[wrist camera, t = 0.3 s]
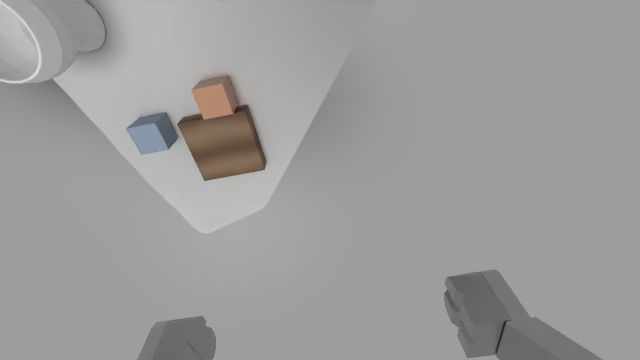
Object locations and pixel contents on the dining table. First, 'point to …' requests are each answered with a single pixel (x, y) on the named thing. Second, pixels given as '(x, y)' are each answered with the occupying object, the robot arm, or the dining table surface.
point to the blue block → (153, 133)
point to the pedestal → (223, 144)
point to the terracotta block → (215, 97)
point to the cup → (45, 37)
